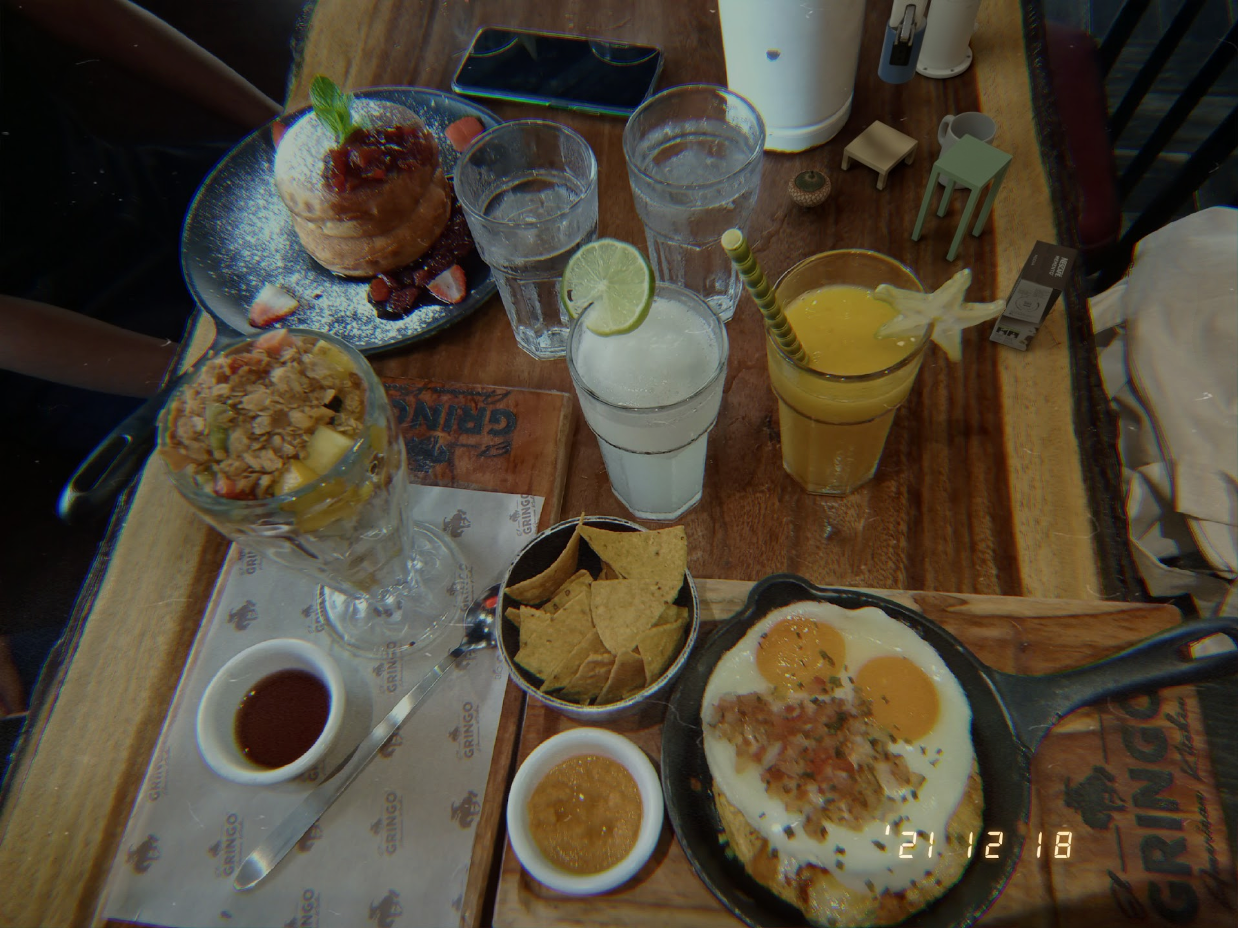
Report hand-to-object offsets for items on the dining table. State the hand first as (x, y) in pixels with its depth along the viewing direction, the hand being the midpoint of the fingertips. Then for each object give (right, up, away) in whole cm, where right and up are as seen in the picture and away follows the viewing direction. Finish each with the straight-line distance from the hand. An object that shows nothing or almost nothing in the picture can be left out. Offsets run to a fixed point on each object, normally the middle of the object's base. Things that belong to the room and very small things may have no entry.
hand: (901, 50), depth 127 cm
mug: (+17, -13, +19) cm, 29 cm away
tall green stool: (+13, -29, +12) cm, 34 cm away
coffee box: (+21, -48, +2) cm, 52 cm away
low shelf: (+4, -11, +22) cm, 25 cm away
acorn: (-11, -21, +20) cm, 31 cm away
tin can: (+1, -2, +4) cm, 4 cm away
